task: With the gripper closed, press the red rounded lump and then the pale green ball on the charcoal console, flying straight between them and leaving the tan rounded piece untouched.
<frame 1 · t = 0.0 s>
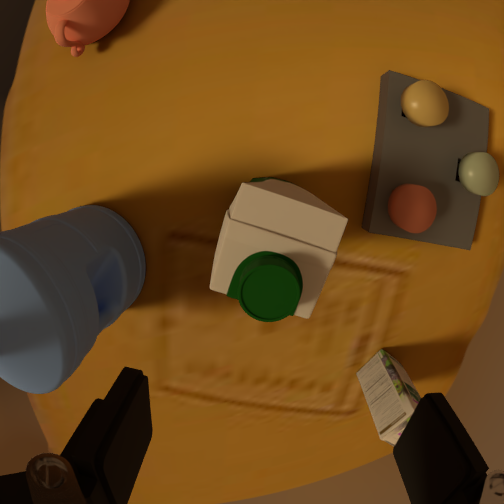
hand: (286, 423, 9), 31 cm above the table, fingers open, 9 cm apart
red rounded lump: (407, 206, 33), point 5 cm above the table, slide at 0.0 cm
water jug: (98, 259, 41), on the table
console: (427, 163, 36), on the table
syrup box: (378, 368, 45), on the table
pale green ball: (473, 172, 31), point 5 cm above the table, slide at 0.0 cm
sugar bowl: (97, 20, 32), on the table
milk carton: (271, 213, 39), on the table
tan rounded piece: (420, 105, 30), point 5 cm above the table, slide at 0.0 cm
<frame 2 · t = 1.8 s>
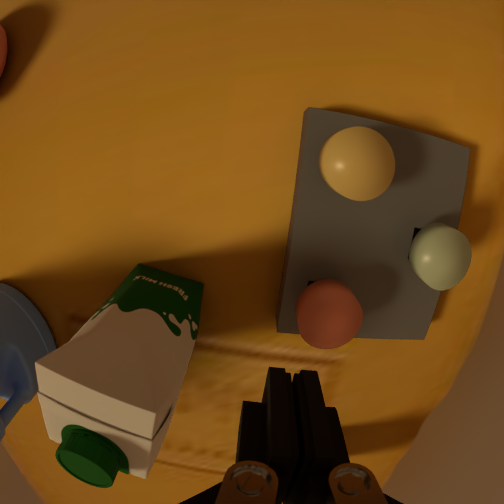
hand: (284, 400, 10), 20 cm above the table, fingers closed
red rounded lump: (325, 307, 26), point 5 cm above the table, slide at 0.0 cm
water jug: (18, 331, 35), on the table
console: (371, 231, 29), on the table
pale green ball: (433, 251, 25), point 5 cm above the table, slide at 0.0 cm
milk carton: (165, 302, 32), on the table
tan rounded piece: (351, 162, 23), point 5 cm above the table, slide at 0.0 cm
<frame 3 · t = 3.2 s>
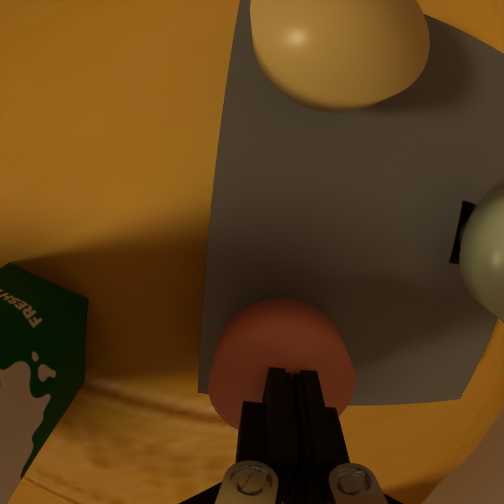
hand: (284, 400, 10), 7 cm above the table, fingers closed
red rounded lump: (279, 354, 13), point 4 cm above the table, slide at -0.5 cm, touching gripper
console: (379, 210, 15), on the table
pale green ball: (501, 247, 11), point 5 cm above the table, slide at 0.0 cm
milk carton: (46, 322, 18), on the table
tan rounded piece: (329, 44, 9), point 5 cm above the table, slide at 0.0 cm
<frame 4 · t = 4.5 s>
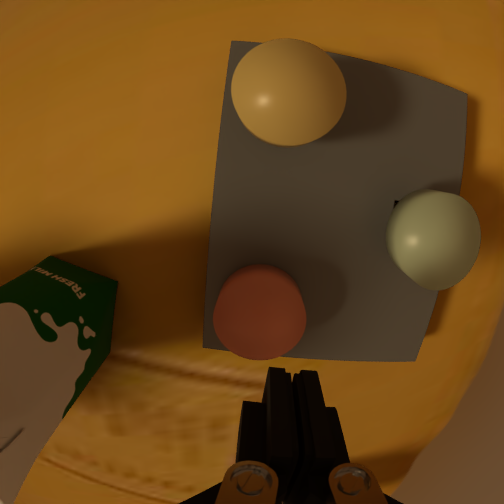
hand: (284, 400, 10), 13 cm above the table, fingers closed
red rounded lump: (260, 303, 20), point 3 cm above the table, slide at -1.6 cm
console: (335, 209, 22), on the table
pale green ball: (424, 233, 17), point 5 cm above the table, slide at 0.0 cm
milk carton: (80, 303, 24), on the table
tan rounded piece: (285, 99, 15), point 5 cm above the table, slide at 0.0 cm
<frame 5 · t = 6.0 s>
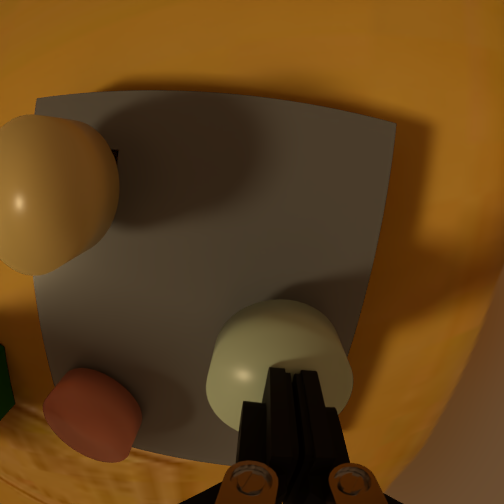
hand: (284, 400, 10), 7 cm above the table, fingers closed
red rounded lump: (100, 403, 15), point 3 cm above the table, slide at -1.6 cm
console: (189, 299, 17), on the table
pale green ball: (277, 354, 13), point 4 cm above the table, slide at -0.8 cm, touching gripper
tan rounded piece: (62, 188, 10), point 5 cm above the table, slide at 0.0 cm
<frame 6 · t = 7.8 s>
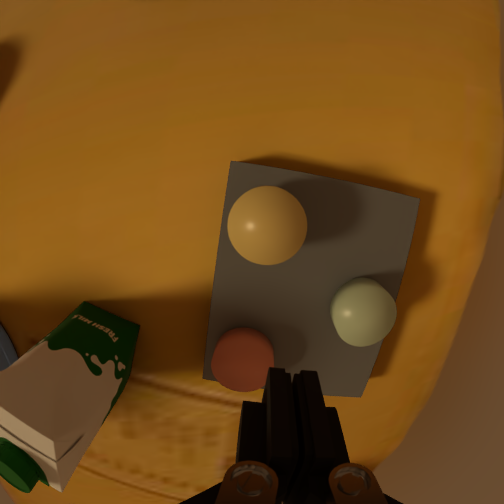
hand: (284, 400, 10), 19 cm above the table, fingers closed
red rounded lump: (244, 352, 28), point 3 cm above the table, slide at -1.6 cm
console: (304, 286, 29), on the table
pale green ball: (358, 306, 26), point 3 cm above the table, slide at -1.6 cm
milk carton: (108, 338, 32), on the table
tan rounded piece: (267, 221, 23), point 5 cm above the table, slide at 0.0 cm
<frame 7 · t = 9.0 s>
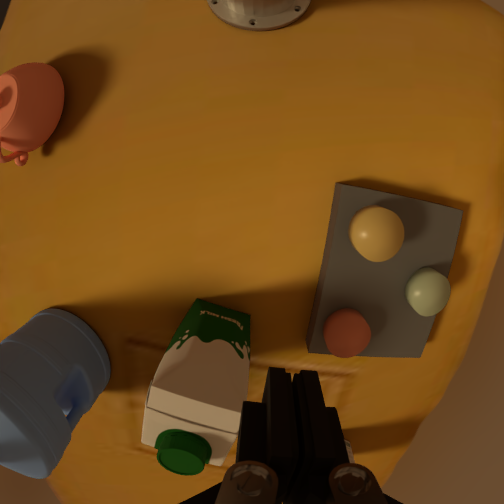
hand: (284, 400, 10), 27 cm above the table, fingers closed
red rounded lump: (344, 327, 36), point 3 cm above the table, slide at -1.6 cm
water jug: (70, 350, 43), on the table
console: (382, 274, 37), on the table
pale green ball: (423, 287, 34), point 3 cm above the table, slide at -1.6 cm
sugar bowl: (39, 115, 33), on the table
milk carton: (216, 328, 40), on the table
tan rounded piece: (372, 230, 31), point 5 cm above the table, slide at 0.0 cm
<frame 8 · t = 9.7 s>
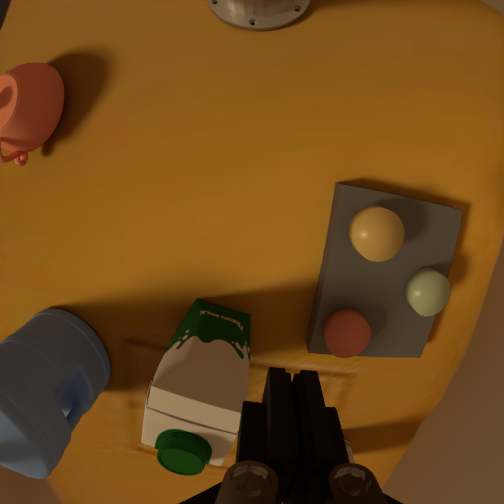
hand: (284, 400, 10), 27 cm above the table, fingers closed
red rounded lump: (344, 327, 36), point 3 cm above the table, slide at -1.6 cm
water jug: (70, 350, 43), on the table
console: (382, 274, 37), on the table
pale green ball: (423, 287, 34), point 3 cm above the table, slide at -1.6 cm
sugar bowl: (39, 115, 33), on the table
milk carton: (216, 328, 40), on the table
tan rounded piece: (372, 230, 31), point 5 cm above the table, slide at 0.0 cm
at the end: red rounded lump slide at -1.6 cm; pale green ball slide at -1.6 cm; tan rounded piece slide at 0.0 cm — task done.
